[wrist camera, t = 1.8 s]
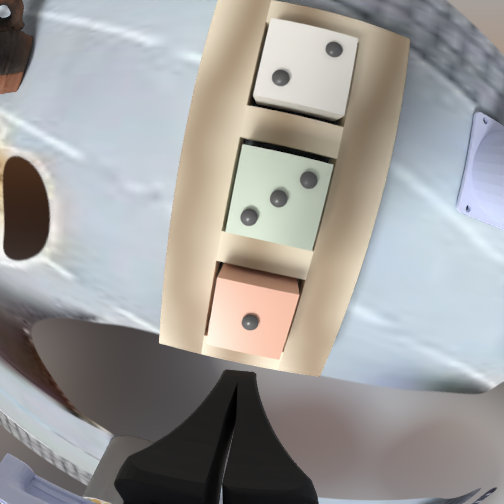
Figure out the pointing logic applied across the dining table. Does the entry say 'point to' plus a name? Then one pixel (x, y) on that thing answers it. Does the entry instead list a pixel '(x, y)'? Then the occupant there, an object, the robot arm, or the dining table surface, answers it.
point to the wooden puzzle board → (289, 136)
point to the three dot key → (278, 197)
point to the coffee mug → (112, 469)
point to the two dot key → (305, 69)
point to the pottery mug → (13, 47)
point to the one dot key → (252, 310)
